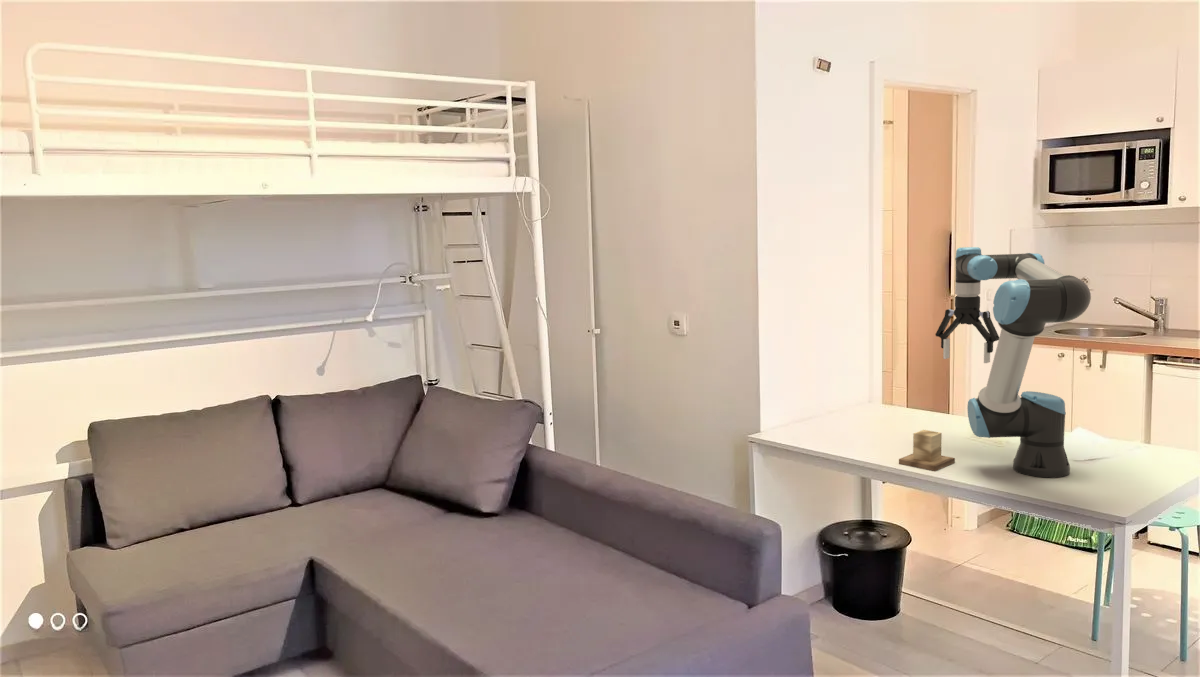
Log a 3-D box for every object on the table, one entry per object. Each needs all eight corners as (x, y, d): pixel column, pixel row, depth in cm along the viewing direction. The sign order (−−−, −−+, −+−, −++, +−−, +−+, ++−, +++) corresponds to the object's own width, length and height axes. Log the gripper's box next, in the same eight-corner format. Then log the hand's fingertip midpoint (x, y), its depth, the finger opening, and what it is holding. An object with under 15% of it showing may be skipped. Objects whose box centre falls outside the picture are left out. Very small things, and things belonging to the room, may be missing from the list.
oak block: (941, 457, 273) (941, 432, 272) (931, 462, 269) (931, 436, 268) (923, 454, 278) (923, 429, 276) (913, 458, 274) (913, 433, 273)
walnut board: (954, 462, 273) (954, 457, 273) (935, 471, 265) (935, 466, 265) (918, 455, 282) (918, 450, 282) (898, 463, 274) (898, 458, 274)
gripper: (1011, 296, 277) (1010, 362, 280) (936, 292, 295) (935, 355, 298) (1000, 298, 272) (999, 366, 275) (925, 294, 291) (924, 358, 294)
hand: (966, 360), depth 287 cm, fingers open, 13 cm apart
